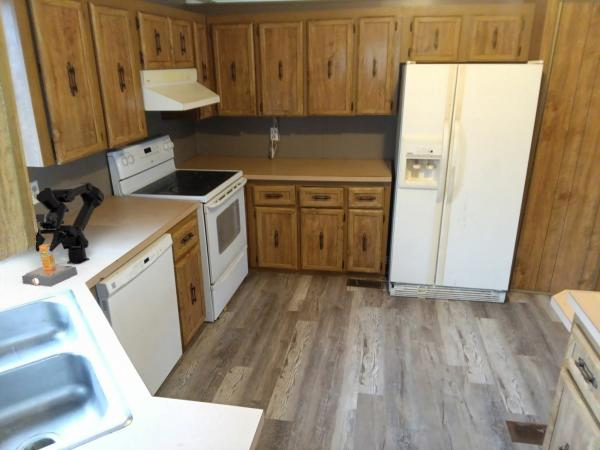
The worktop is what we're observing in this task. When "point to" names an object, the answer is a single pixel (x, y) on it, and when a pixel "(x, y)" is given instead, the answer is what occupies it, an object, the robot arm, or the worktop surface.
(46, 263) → the supplement box
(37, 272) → the pan
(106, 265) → the worktop surface
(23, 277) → the kitchen scale
